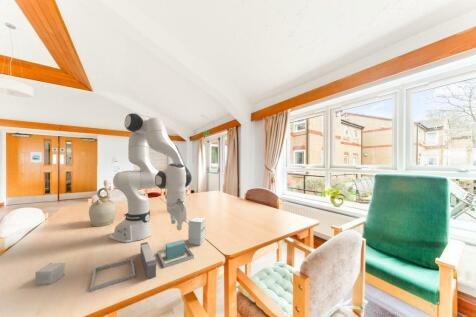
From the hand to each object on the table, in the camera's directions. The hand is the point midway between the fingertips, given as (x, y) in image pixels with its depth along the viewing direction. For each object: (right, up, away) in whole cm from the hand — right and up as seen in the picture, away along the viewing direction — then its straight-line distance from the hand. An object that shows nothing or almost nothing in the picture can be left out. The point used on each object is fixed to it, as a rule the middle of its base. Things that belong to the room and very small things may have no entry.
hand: (176, 226), depth 85 cm
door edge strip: (-10, -14, -7) cm, 19 cm away
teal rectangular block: (0, -14, 0) cm, 14 cm away
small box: (-42, -14, -17) cm, 47 cm away
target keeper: (-20, -14, -14) cm, 28 cm away
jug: (-65, -13, +40) cm, 77 cm away
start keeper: (0, -14, 0) cm, 14 cm away
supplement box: (+7, -15, +15) cm, 22 cm away
